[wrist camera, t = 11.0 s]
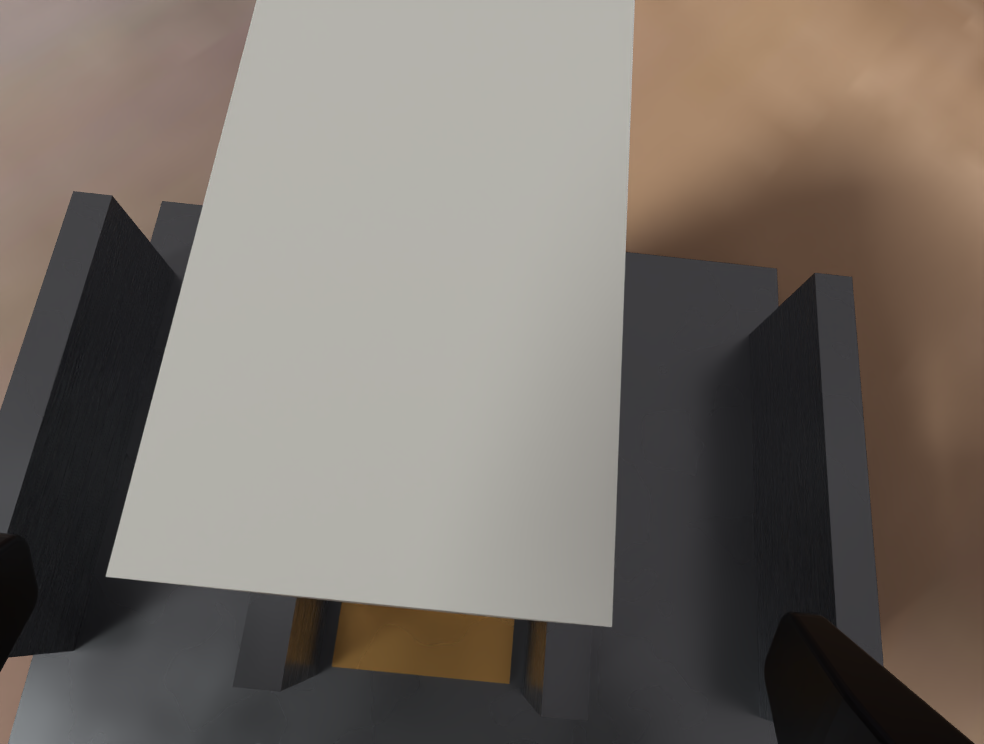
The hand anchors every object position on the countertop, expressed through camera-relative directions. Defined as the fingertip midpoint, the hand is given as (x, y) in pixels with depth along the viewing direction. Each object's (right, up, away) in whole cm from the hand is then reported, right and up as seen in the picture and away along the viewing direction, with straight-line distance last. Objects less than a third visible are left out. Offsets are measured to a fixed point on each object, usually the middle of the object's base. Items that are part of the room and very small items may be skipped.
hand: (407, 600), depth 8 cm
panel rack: (0, 0, +9) cm, 9 cm away
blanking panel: (0, 0, +8) cm, 8 cm away
